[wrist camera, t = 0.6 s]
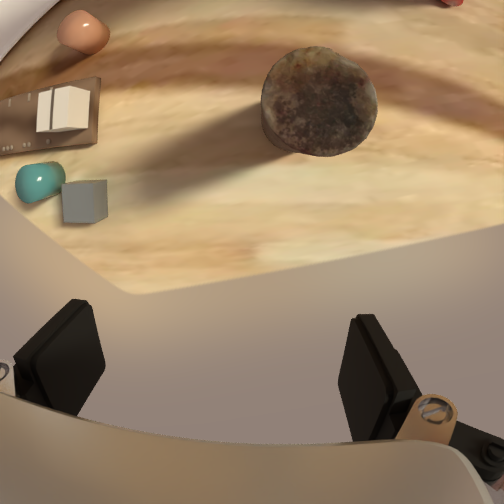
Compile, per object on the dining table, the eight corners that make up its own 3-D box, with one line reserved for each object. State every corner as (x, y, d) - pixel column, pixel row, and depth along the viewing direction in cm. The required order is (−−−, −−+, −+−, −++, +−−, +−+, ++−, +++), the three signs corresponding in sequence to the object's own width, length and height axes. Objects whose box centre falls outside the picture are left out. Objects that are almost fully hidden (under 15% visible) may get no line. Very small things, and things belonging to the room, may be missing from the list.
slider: (60, 96, 32) (38, 92, 28) (90, 91, 32) (69, 85, 28) (58, 132, 34) (35, 132, 29) (88, 128, 34) (66, 127, 29)
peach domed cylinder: (82, 27, 31) (60, 15, 25) (112, 20, 31) (92, 5, 25) (77, 57, 32) (54, 48, 27) (107, 51, 32) (86, 39, 27)
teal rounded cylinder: (40, 162, 37) (14, 166, 31) (65, 160, 37) (40, 163, 31) (41, 196, 39) (16, 203, 33) (66, 195, 39) (41, 203, 33)
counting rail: (-1, 103, 34) (-8, 103, 32) (101, 78, 34) (95, 76, 32) (-3, 156, 37) (-10, 157, 35) (97, 143, 36) (91, 143, 35)
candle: (290, 165, 37) (320, 181, 18) (247, 122, 35) (232, 91, 16) (335, 125, 35) (406, 103, 16) (293, 81, 34) (324, 16, 15)
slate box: (77, 180, 38) (61, 184, 34) (107, 179, 38) (93, 183, 34) (78, 215, 40) (63, 222, 36) (108, 216, 40) (94, 223, 36)
